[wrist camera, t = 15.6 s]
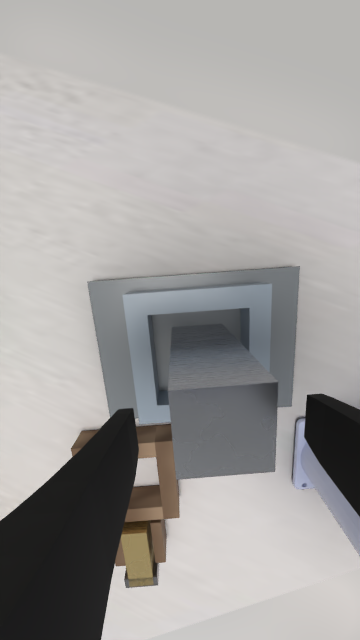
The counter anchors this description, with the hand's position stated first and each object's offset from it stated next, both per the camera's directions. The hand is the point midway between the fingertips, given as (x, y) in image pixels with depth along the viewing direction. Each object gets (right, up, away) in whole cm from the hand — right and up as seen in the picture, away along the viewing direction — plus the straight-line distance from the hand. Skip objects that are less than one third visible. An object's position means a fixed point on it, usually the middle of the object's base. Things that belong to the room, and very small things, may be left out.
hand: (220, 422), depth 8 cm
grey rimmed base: (0, +2, +9) cm, 9 cm away
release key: (-6, -18, +13) cm, 23 cm away
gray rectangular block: (0, +2, +8) cm, 8 cm away
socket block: (-6, -13, +12) cm, 19 cm away
